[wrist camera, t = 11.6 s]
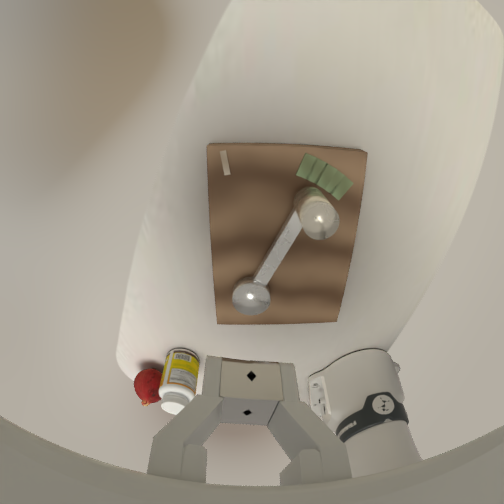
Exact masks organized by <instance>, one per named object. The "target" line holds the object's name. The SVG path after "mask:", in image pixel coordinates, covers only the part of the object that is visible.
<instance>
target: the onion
mask: <svg viewBox="0 0 504 504" xmlns="http://www.w3.org/2000/svg"><path fill="white" fill-rule="evenodd" d="M161 378H162V373H161V372H159V371H158V370H156V369H154V368H152V369H146V370H143V371H141V372H139V373H138V375H137V376H136V378H135V380H134V387H135V391H136V394H137V395H138V396H139V398H140V399H141V400H142V405H143V406H148V405H149V404H150V403H155V402H158V401H159V400H161V399H162V398H161V397H160V395H159V387H160V383H161Z"/></svg>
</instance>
